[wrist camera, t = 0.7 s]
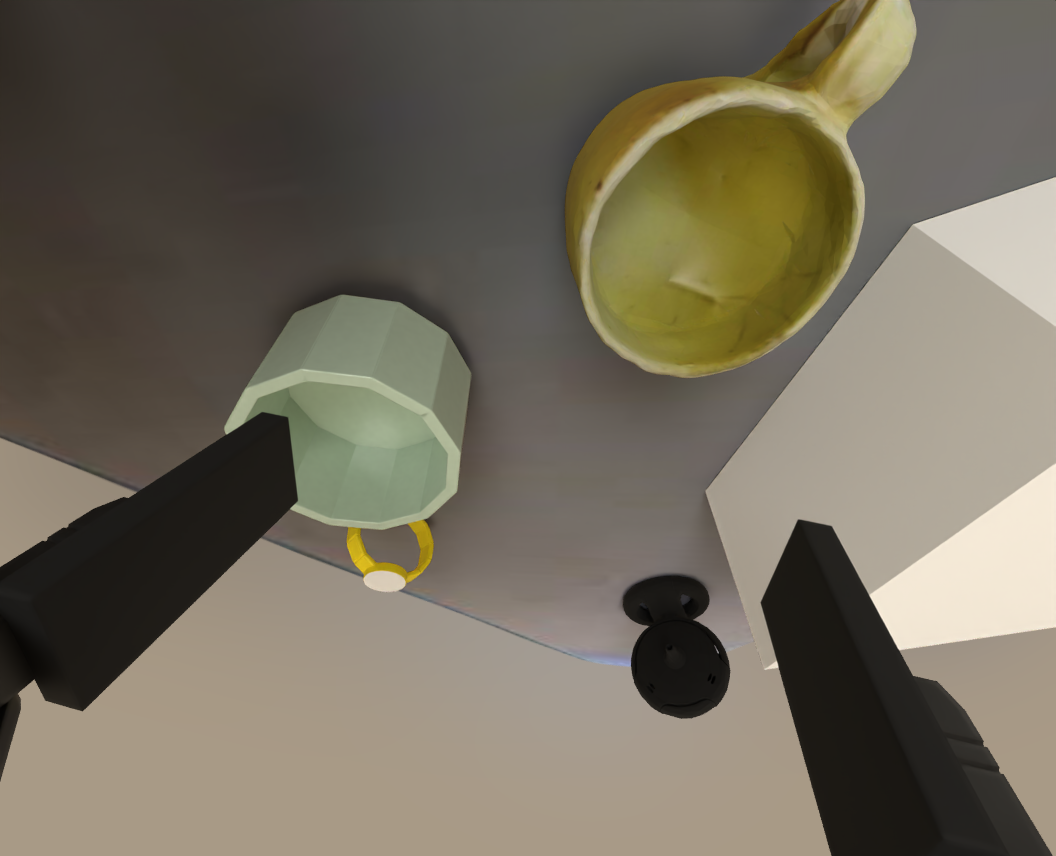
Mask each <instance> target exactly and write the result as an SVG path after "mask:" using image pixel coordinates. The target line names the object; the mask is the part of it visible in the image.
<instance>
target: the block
mask: <svg viewBox="0 0 1056 856" xmlns="http://www.w3.org/2000/svg"><path fill="white" fill-rule="evenodd" d="M705 492H706V495H707V498H708V501H709V504H710V507H711V510H712V513H713V516H714V520H715V523H716V526H717V529H718V532H719V535H720V538H721V541H722V544H723V547H724V550H725V553H726V556H727V559H728V562H729V565H730V568H731V571H732V574H733V578H734V581H735V584H736V587H737V590H738V593H739V596H740V599H741V602H742V605H743V608H744V611H745V614H746V617H747V620H748V623H749V626H750V629H751V632H752V636H753V639H754V642H755V644H756V648H757V650H758V653H759V657H760V660H761V663H762V666H763V669H764V670H766V669H773V668H779V667H778V663H777V660H776V656H775V653H774V649H773V646H772V642H771V638H770V635H769V631H768V628H767V624H766V621H765V617H764V613H763V610H762V606H761V603H760V602H761V600H762V598H763V596H764V594H765V591H766V589H767V587H768V585H769V582H770V580H771V578H772V576H773V574H774V571H775V569H776V567H777V565H778V562H779V560H780V558H781V556H782V554H783V551H784V549H785V547H786V545H787V542H788V540H789V538H790V536H791V534H792V531H793V529H794V527H795V525H796V522H797V520H798V519H800V520H805V521H810V522H815V523H820V524H825V525H830V526H832V527H833V529H834V531H835V533H836V535H837V536H838V538H839V540H840V542H841V544H842V546H843V548H844V549H845V551H846V553H847V555H848V557H849V559H850V561H851V562H852V564H853V566H854V568H855V570H856V572H857V573H858V575H859V577H860V579H861V581H862V583H863V585H864V586H865V588H866V590H867V592H868V594H869V596H870V598H871V599H872V601H873V603H874V605H875V607H876V609H877V611H878V612H879V614H880V616H881V618H882V620H883V622H884V623H885V625H886V627H887V629H888V631H889V633H890V635H891V636H892V638H893V640H894V642H895V644H896V646H897V648H898V649H899V650H903V649H910V648H917V647H924V646H931V645H938V644H944V643H951V642H958V641H965V640H971V639H979V638H985V637H992V636H999V635H1006V634H1012V633H1020V632H1026V631H1033V630H1040V629H1046V628H1054V627H1056V177H1054V178H1051V179H1048V180H1045V181H1042V182H1039V183H1036V184H1033V185H1030V186H1027V187H1024V188H1021V189H1018V190H1015V191H1012V192H1009V193H1006V194H1003V195H1000V196H997V197H994V198H991V199H988V200H985V201H982V202H979V203H976V204H973V205H970V206H967V207H964V208H961V209H958V210H955V211H952V212H949V213H946V214H943V215H940V216H937V217H934V218H931V219H928V220H925V221H922V222H919V223H916V224H913V225H912V226H911V227H910V229H909V230H908V231H907V232H906V234H905V235H904V236H903V238H902V239H901V240H900V241H899V243H898V244H897V245H896V247H895V248H894V249H893V250H892V252H891V253H890V254H889V256H888V257H887V258H886V259H885V261H884V262H883V263H882V265H881V266H880V267H879V268H878V270H877V271H876V272H875V274H874V275H873V276H872V277H871V279H870V280H869V281H868V283H867V284H866V285H865V286H864V288H863V289H862V290H861V292H860V293H859V294H858V295H857V297H856V298H855V299H854V301H853V302H852V303H851V304H850V306H849V307H848V308H847V310H846V311H845V312H844V313H843V315H842V316H841V317H840V319H839V320H838V321H837V322H836V324H835V325H834V326H833V328H832V329H831V330H830V331H829V333H828V334H827V335H826V337H825V338H824V339H823V340H822V342H821V343H820V344H819V346H818V347H817V348H816V349H815V351H814V352H813V353H812V355H811V356H810V357H809V358H808V360H807V361H806V362H805V364H804V365H803V366H802V367H801V369H800V370H799V371H798V373H797V374H796V375H795V376H794V378H793V379H792V380H791V382H790V383H789V384H788V385H787V387H786V388H785V389H784V391H783V392H782V393H781V394H780V396H779V397H778V398H777V400H776V401H775V402H774V403H773V405H772V406H771V407H770V409H769V410H768V411H767V412H766V414H765V415H764V416H763V418H762V419H761V420H760V421H759V423H758V424H757V425H756V427H755V428H754V429H753V430H752V432H751V433H750V434H749V436H748V437H747V438H746V439H745V441H744V442H743V443H742V445H741V446H740V447H739V448H738V450H737V451H736V452H735V454H734V455H733V456H732V457H731V459H730V460H729V461H728V463H727V464H726V465H725V466H724V468H723V469H722V470H721V472H720V473H719V474H718V475H717V477H716V478H715V479H714V481H713V482H712V483H711V484H710V486H709V487H708V488H707V490H706V491H705Z"/></svg>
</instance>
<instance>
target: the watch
mask: <svg viewBox="0 0 1056 856" xmlns="http://www.w3.org/2000/svg"><path fill="white" fill-rule="evenodd" d="M408 525H409V526H410V527H411V529H412V530H413V531H414V532H415V534H416V535H417V539H418V543H419V546H420V550H421V552H420V557H419V563H418V566H417V567H416V568H415V570H414V571H410V572H406V570H405V569H404V568H402V567H401V566H399V565H396V564H392V563H385V562H382V563H376V562H375V561H374V560H373V559H372V558H371V557H370V556H369V555H368V554H367V552H366V549H365V547H364V544H363V542H362V539H361V536H360V533H361V528H355V527H348V534H347V547H348V550H349V552H350V555H351V558H352V560H353V562H354V563H355V565H356V566H357V567H358V568H359V569H360V570H361V571H362V572H363V573H364V577H363V582H364V583H365V585H366V586H368V587H369V588H371V589H373V590H376V591H380V592H394V591H398V590H400V589H402V588H404V586H405V585H406V583H407V582H410V581H412V580H413V579H414V578H416V577H417V576H418V575H420V574H421V573H422V572H423V571H424V569H425V568H426V567H427V566H428V565H429V563H430V562H431V560H432V554H433V548H434V544H433V543H434V542H433V539H432V535H431V532H430V528H429V527H428V524H427V523H426V522H425V520H420V521H416V522H412V523H408Z"/></svg>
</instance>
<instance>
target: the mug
mask: <svg viewBox="0 0 1056 856" xmlns="http://www.w3.org/2000/svg"><path fill="white" fill-rule="evenodd" d="M915 38H916V23H915V18H914V15H913V13H912V11H911V6H910V2H909V0H840V1H838V2H836V3H834V4H832V5H831V6H830V7H829V8H828V9H827V10H826V11H824V12H823V13H822V14H821V15H820V16H818V17H817V18H816V19H815V20H813V21H812V22H811V23H810V24H808V25H807V26H806V27H805V28H803V29H801V30H799V32H798V33H797V34H796V35H795V36H794V37H793V38H792V40H791V41H790V42H789V44H788V45H787V46H786V48H784V49H783V50H782V51H781V52H779V53H778V54H777V55H776V56H775V57H774V58H772V59H771V60H770V61H769V63H768V64H767V65H766V66H765V67H763V68H762V69H760V70H759V71H757V72H756V73H754V74H752V75H748V76H746V77H743V78H739V77H722V76H721V77H710V78H700V79H695V80H690V81H679V82H673V83H668V84H664V85H660V86H657V87H653V88H649V89H646V90H643V91H641V92H639V93H637V94H635V95H633V96H632V97H630V98H628V99H626V100H625V101H623V102H621V103H620V104H619V105H617V106H616V107H615V108H614V109H613V110H611V111H610V112H609V113H608V114H607V115H606V116H605V118H604V119H603V120H602V121H601V122H600V123H599V124H598V125H597V126H596V127H595V129H594V130H593V132H592V133H591V135H590V136H589V138H588V139H587V141H586V142H585V144H584V146H583V147H582V149H581V151H580V153H579V154H578V156H577V158H576V160H575V162H574V164H573V167H572V169H571V172H570V176H569V180H568V185H567V190H566V197H565V231H566V247H567V254H568V258H569V261H570V267H571V271H572V273H573V276H574V279H575V281H576V284H577V287H578V290H579V293H580V296H581V299H582V303H583V306H584V309H585V312H586V314H587V317H588V319H589V321H590V322H591V324H592V325H593V327H594V328H595V330H596V332H597V333H598V335H599V337H600V339H601V340H602V341H603V342H604V343H605V344H606V345H607V346H608V347H610V348H611V349H612V350H614V351H615V352H616V353H617V354H618V355H619V356H621V357H622V358H624V359H626V360H628V361H630V362H632V363H634V364H636V365H637V366H638V367H639V368H641V369H643V370H644V371H647V372H650V373H654V374H662V375H672V376H675V377H679V378H694V377H702V376H708V375H713V374H717V373H721V372H725V371H729V370H732V369H735V368H737V367H740V366H743V365H746V364H748V363H750V362H752V361H754V360H756V359H758V358H760V357H762V356H763V355H765V354H767V353H768V352H770V351H772V350H773V349H775V348H776V347H777V346H779V345H780V344H781V343H783V342H784V341H786V340H787V339H789V338H790V337H791V336H793V335H794V334H796V333H797V332H798V331H799V330H800V329H801V328H802V327H803V326H804V325H805V324H806V323H807V322H808V321H809V320H810V319H811V318H812V317H813V316H814V315H815V314H816V312H817V311H818V310H819V309H820V308H821V307H822V306H823V304H824V303H825V302H826V301H827V299H828V298H829V297H830V295H831V294H832V292H833V291H834V289H835V288H836V286H837V285H838V284H839V282H840V281H841V279H842V278H843V276H844V275H845V273H846V272H847V270H848V267H849V265H850V263H851V261H852V259H853V257H854V254H855V251H856V248H857V244H858V240H859V236H860V232H861V228H862V224H863V220H864V206H865V196H864V185H863V182H862V179H861V176H860V172H859V169H858V166H857V164H856V162H855V160H854V157H853V155H852V153H851V151H850V148H849V146H848V144H847V140H846V134H847V131H848V129H849V127H850V126H851V125H852V123H853V122H854V121H855V120H856V119H857V118H858V117H859V116H860V115H861V114H862V113H863V112H865V111H866V110H867V109H868V108H869V107H870V106H872V105H873V104H874V103H876V102H877V101H878V100H880V99H881V98H882V96H883V95H884V94H885V93H886V92H887V91H888V89H889V88H890V87H891V86H892V85H893V83H894V82H895V81H896V79H897V78H898V77H899V76H900V74H901V73H902V72H903V70H904V69H905V68H906V67H907V65H908V63H909V61H910V58H911V53H912V48H913V43H914V41H915Z"/></svg>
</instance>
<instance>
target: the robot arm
mask: <svg viewBox="0 0 1056 856" xmlns="http://www.w3.org/2000/svg"><path fill="white" fill-rule="evenodd" d="M297 502H298V495H297V486H296V478H295V469H294V461H293V452H292V444H291V436H290V427H289V419H288V417H285V416H280V415H275V414H271V413H266V412H261V413H259V414H258V415H256V416H255V417H253V418H252V419H250V420H249V421H247V422H245V423H244V424H242V425H241V426H239V427H238V428H236V429H235V430H233V431H232V432H230V433H228V434H227V435H225V436H224V437H222V438H221V439H219V440H218V441H216V442H215V443H213V444H211V445H210V446H208V447H207V448H205V449H204V450H202V451H201V452H199V453H198V454H196V455H194V456H193V457H191V458H190V459H188V460H187V461H185V462H184V463H182V464H180V465H179V466H177V467H176V468H174V469H173V470H171V471H170V472H168V473H167V474H165V475H163V476H162V477H160V478H159V479H157V480H156V481H154V482H153V483H151V484H150V485H148V486H146V487H145V488H143V489H142V490H140V491H139V492H137V493H136V494H134V495H133V496H131V497H129V498H125V497H123V498H120V499H118V500H115V501H112V502H110V503H107V504H105V505H102V506H100V507H97V508H95V509H93V510H91V511H89V512H88V513H86V514H84V515H83V516H81V517H80V518H78V519H76V520H75V521H73V522H72V523H70V524H69V526H68V527H67V528H62V529H61V530H59V531H57V532H56V533H54V534H53V535H51V536H49V537H48V539H47V541H41V542H40V543H38V544H37V545H35V546H33V547H32V548H30V549H29V550H27V551H25V552H24V553H22V554H20V555H19V556H17V557H16V558H14V559H12V560H11V561H9V562H8V563H6V564H4V565H3V566H1V567H0V780H1V777H2V773H3V769H4V766H5V763H6V759H7V756H8V752H9V749H10V745H11V741H12V738H13V734H14V731H15V728H16V724H17V721H18V717H19V714H20V710H21V699H20V697H19V695H18V693H19V692H20V691H21V690H22V689H23V688H25V687H26V686H27V685H28V684H29V683H31V682H32V681H33V680H34V679H35V681H36V683H37V685H38V687H39V689H40V691H41V693H42V694H43V697H44V699H45V700H46V701H49V702H52V703H56V704H59V705H63V706H66V707H69V708H73V709H77V710H80V711H83V710H84V709H86V708H87V707H88V706H89V705H90V704H91V703H92V702H93V701H94V700H95V699H96V698H97V697H98V696H99V695H100V694H101V693H102V692H103V691H104V690H105V689H106V688H107V687H108V686H109V685H110V684H111V683H112V682H113V681H114V680H115V679H116V678H117V677H118V676H119V675H120V674H121V673H122V672H123V671H125V669H127V668H128V666H130V665H131V664H132V663H133V662H134V661H135V660H136V659H137V658H138V657H139V656H140V655H141V654H142V653H143V652H144V651H145V650H146V649H147V648H148V647H149V646H150V645H151V644H152V643H153V642H154V641H155V640H156V639H157V638H158V637H159V636H160V635H161V634H162V633H163V632H164V631H165V630H166V629H168V628H169V627H170V626H171V624H173V623H174V622H175V621H176V620H177V619H178V618H179V617H180V616H181V615H182V614H183V613H184V612H185V611H186V610H187V609H188V608H189V607H190V606H191V605H192V604H193V603H194V602H195V601H196V600H197V599H198V598H199V597H200V596H201V595H202V594H203V593H204V592H205V591H206V590H207V589H208V588H209V587H211V586H212V585H213V584H214V583H215V582H216V581H217V580H218V579H219V578H220V577H221V576H222V575H223V574H224V573H225V572H226V571H227V570H228V569H229V568H230V567H231V566H232V565H233V564H234V563H235V562H236V561H237V560H238V559H239V558H240V557H241V556H242V555H243V554H244V553H245V552H246V551H247V550H248V549H249V548H250V547H251V546H252V545H254V544H255V542H256V541H258V540H259V539H260V538H261V537H262V536H263V535H264V534H265V533H266V532H267V531H268V530H269V529H270V528H271V527H272V526H273V525H274V524H275V523H276V522H277V521H278V520H279V519H280V518H281V517H282V516H283V515H284V514H285V513H286V512H287V511H288V510H289V509H290V508H291V507H292V506H293V505H294V504H296V503H297ZM760 603H761V606H762V610H763V613H764V617H765V621H766V624H767V628H768V631H769V635H770V638H771V642H772V646H773V649H774V653H775V656H776V660H777V663H778V667H779V670H780V674H781V677H782V681H783V685H784V688H785V692H786V695H787V699H788V703H789V706H790V710H791V713H792V717H793V720H794V724H795V727H796V731H797V735H798V738H799V741H800V745H801V748H802V752H803V756H804V760H805V763H806V767H807V770H808V774H809V777H810V781H811V785H812V788H813V792H814V795H815V799H816V802H817V806H818V809H819V813H820V817H821V820H822V824H823V827H824V831H825V834H826V838H827V842H828V845H829V849H830V852H831V855H832V856H1052V854H1051V852H1050V851H1049V849H1048V847H1047V846H1046V844H1045V842H1044V841H1043V839H1042V838H1041V836H1040V834H1039V832H1038V831H1037V829H1036V827H1035V826H1034V824H1033V822H1032V821H1031V819H1030V817H1029V816H1028V814H1027V813H1026V811H1025V809H1024V807H1023V806H1022V804H1021V802H1020V801H1019V799H1018V798H1017V796H1016V794H1015V793H1014V791H1013V789H1012V787H1011V786H1010V784H1009V782H1008V781H1007V779H1006V777H1005V776H1004V774H1000V772H999V766H998V764H997V763H996V761H995V759H994V758H993V756H992V754H991V753H990V751H989V750H988V748H987V747H984V745H983V742H984V741H983V740H982V738H981V736H980V734H979V733H978V731H977V729H976V728H975V726H974V725H973V723H972V721H971V719H970V718H969V716H968V715H967V713H966V711H965V710H964V709H963V708H962V707H961V706H960V705H959V704H958V703H957V702H956V701H955V699H954V698H953V697H952V696H951V695H950V694H949V693H948V692H947V691H946V690H945V689H944V688H943V687H942V686H941V685H940V684H939V683H938V682H937V681H933V680H929V679H924V678H920V677H915V676H913V675H912V673H911V672H910V670H909V668H908V666H907V664H906V662H905V661H904V659H903V657H902V655H901V653H900V651H899V649H898V648H897V646H896V644H895V642H894V640H893V638H892V636H891V635H890V633H889V631H888V629H887V627H886V625H885V623H884V622H883V620H882V618H881V616H880V614H879V612H878V611H877V609H876V607H875V605H874V603H873V601H872V599H871V598H870V596H869V594H868V592H867V590H866V588H865V586H864V585H863V583H862V581H861V579H860V577H859V575H858V573H857V572H856V570H855V568H854V566H853V564H852V562H851V561H850V559H849V557H848V555H847V553H846V551H845V549H844V548H843V546H842V544H841V542H840V540H839V538H838V536H837V535H836V533H835V531H834V529H833V527H832V526H830V525H825V524H820V523H815V522H810V521H805V520H800V519H798V520H797V522H796V525H795V527H794V529H793V531H792V534H791V536H790V538H789V540H788V542H787V545H786V547H785V549H784V551H783V554H782V556H781V558H780V560H779V562H778V565H777V567H776V569H775V571H774V574H773V576H772V578H771V580H770V582H769V585H768V587H767V589H766V591H765V594H764V596H763V598H762V600H761V602H760Z"/></svg>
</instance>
